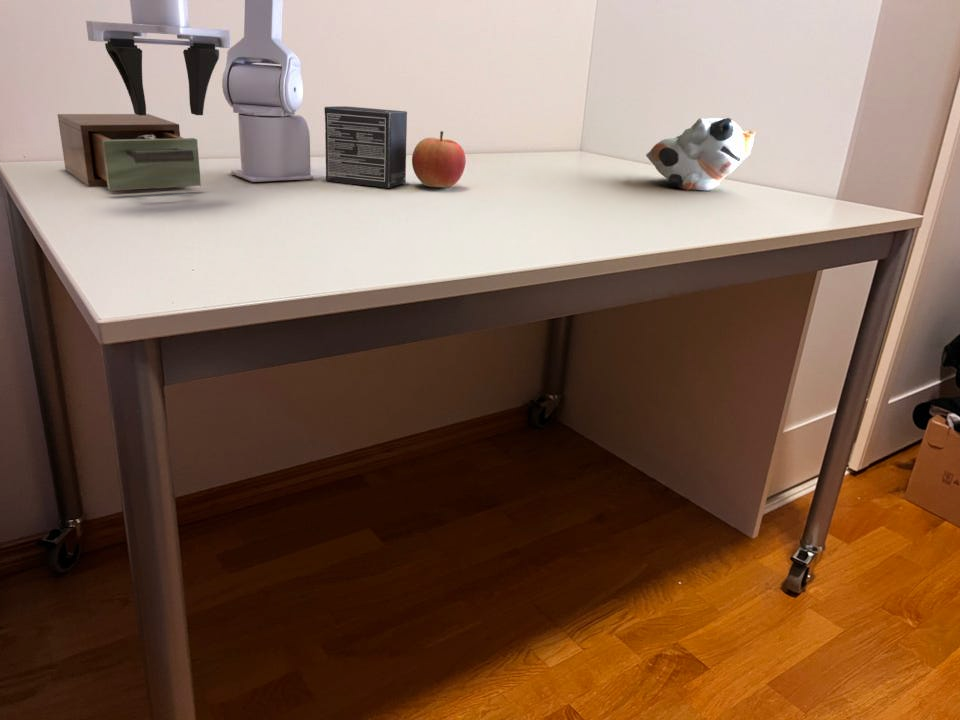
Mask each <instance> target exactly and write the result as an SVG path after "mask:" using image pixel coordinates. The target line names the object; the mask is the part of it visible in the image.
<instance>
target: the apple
mask: <svg viewBox="0 0 960 720" xmlns="http://www.w3.org/2000/svg"><path fill="white" fill-rule="evenodd" d="M439 133H440V135H439V138H436V137H426V138H423V139H421V140H420V141H419V142H418V143H417V144H416V146H415V147H414V149H413V152H412V156H411V165H412V169H413V173H414V174H415V176H416V178H417V179H418V181H420V183H421V184H423V185H425V186H427V187H430V188H452V187H453V186H455V185H456V184H457V183H458V182H459V181H460V179H461V177H462V176H463V174H464V171H465V168H466V164H467V163H466V162H467V159H466V157H467V156H466V152H465V150H464V149H463V147H462V146H461V145H460V144H459V143H458V142H456V141H454V140H452V139H444V138H443V136H444V131H443V130H441V131H440V132H439Z"/></svg>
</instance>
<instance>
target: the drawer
mask: <svg viewBox="0 0 960 720" xmlns="http://www.w3.org/2000/svg"><path fill="white" fill-rule="evenodd" d="M88 135H89V142H90V150H91V157H92V165H93V173H94V174H96V175H97V176H99V177H100V178H102V179H104V180H105V181H107V189H108V190H109V191H111V192H112V191H127V190H145V189H147V190H148V189H163V188H165V189H166V188H167V189H168V188H184V187H201V186H202V183H201V182H202V181H201V171H200V170H201V169H200V157H199V146H198V145H199V144H198V139H197V138H195V137H185V138H184V137H182V136H180V137H179V136H177V135H174V134H171V133H169V132H166V131H88ZM143 135H154V136H155V137H156V138H157V139H136V138H138V136H143Z"/></svg>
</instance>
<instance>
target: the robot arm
mask: <svg viewBox="0 0 960 720" xmlns="http://www.w3.org/2000/svg"><path fill="white" fill-rule="evenodd" d="M129 3H130V14H131V22H130V23H128V22H116V21H115V22H111V21H98V20H85V22H86V23H85V24H86V33H87V40H88V41H89V42H100V43H101V42H102V43H103V42H105V43H104V46H105V50H106V52H107V54H108V57H110V59H111V61H112V62H113V64H114V66H115V67H116V69H117V71H118V73H119V75H120V77H121V79H122V81H123V84H124V85H125V88H126V90H127V93H128V96H129V99H130V103H131V105H132V108H133V114H137V115H146V114H147V104H146V96H145V89H144V83H143V82H144V81H143V50H142V49H141V48H140V47H138V45H137V44H145V45H165V46H166V45H167V46H168V45H169V46H184V47H185V46H187V49H184V50H183V51H182V53H183V58H184V62H185V68H186V73H187V80H188V95H189V96H188V97H189V98H188V99H189V108H190V113H191V115H195V116H204V108H205V102H206V96H207V91H208V87H209V83H210V81H211V77H212V75H213V72H214V70H215V68H216V66H217V64H218V61H219V59H220V50H219V49H218V48H221V49H228V50H227V51H226V52H227V54H226V63H225V67H224V71H223V74H222V79H221V87H222V92H223V96H224V99H225V100H226V102H227V104H228V105H229V106H230V107H231V108H232V112H233V113H234V114H237V118H238V119H237V120H238V134H239V151H240V152H239V153H240V168H241V169H234V170H231V175H233V176H237V177H239V178H241V179H243V180H245V181H248V182H250V183H258V182H262V183H263V182H279V181H282V182H283V181H299V180H300V181H301V180H313V179H314V176H313V175H312V174H311V173H312V172H311V137H310V136H311V134H310V130H309V126H308V123H307V121H306V119H305V118H304V116H302V115H299V114H296V112H297V111H298V109H300V107H301V105H302V103H303V97H304V83H303V79H302V69H301V64H302V63H301V61H300V59H299V57H298V56H297V55H296V54H295V53H294V51H292V50H291V49H290V48H289V47H288V46H287V45H286V44H285V43H284V42H283V41H282V36H283V35H282V33H283V9H284V0H244V20H243V21H244V23H243V24H244V25H243V37H242V38H241V39H240V40H238V41H237V42H236V43H235V44H234V45H233V46H232V39H231V37H232V36H231V30H230V29H219V28H203V27H192V26H191V27H190V20H189V19H190V18H189V6H188V0H129ZM147 34H158V35H159V34H160V35H173V36H174V35H176V38H177V39H178V40H176V39H158V38H157V39H156V38H146V37H147ZM139 37H140V38H139ZM141 37H142V38H141Z"/></svg>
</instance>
